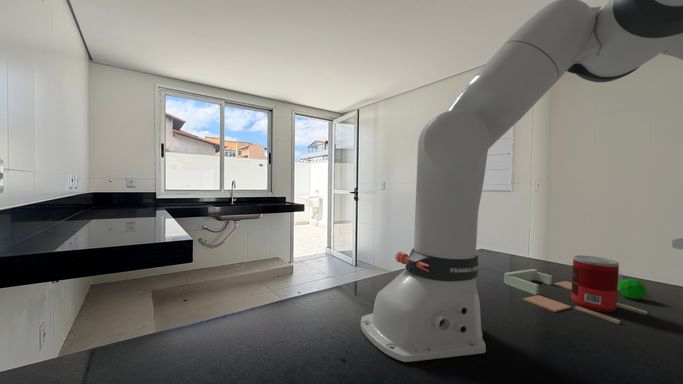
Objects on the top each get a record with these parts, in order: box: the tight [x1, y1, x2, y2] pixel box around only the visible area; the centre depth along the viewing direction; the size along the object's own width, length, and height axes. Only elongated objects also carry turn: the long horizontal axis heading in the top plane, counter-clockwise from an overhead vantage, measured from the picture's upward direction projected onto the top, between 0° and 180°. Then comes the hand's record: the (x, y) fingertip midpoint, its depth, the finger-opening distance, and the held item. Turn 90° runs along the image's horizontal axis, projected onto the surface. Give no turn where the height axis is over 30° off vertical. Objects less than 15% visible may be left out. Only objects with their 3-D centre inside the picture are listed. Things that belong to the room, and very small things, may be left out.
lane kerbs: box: [574, 302, 648, 325], centre depth 65 cm, size 13×12×1 cm
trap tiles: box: [522, 280, 572, 313], centre depth 72 cm, size 26×11×1 cm, turn 114°
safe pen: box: [503, 268, 553, 296], centre depth 78 cm, size 13×9×3 cm
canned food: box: [570, 254, 620, 313], centre depth 66 cm, size 8×8×11 cm
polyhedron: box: [618, 278, 648, 300], centre depth 72 cm, size 5×5×5 cm
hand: (675, 242), depth 55 cm, fingers closed
